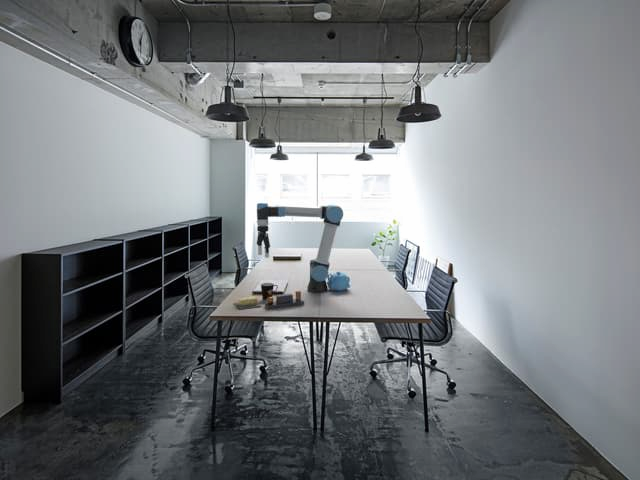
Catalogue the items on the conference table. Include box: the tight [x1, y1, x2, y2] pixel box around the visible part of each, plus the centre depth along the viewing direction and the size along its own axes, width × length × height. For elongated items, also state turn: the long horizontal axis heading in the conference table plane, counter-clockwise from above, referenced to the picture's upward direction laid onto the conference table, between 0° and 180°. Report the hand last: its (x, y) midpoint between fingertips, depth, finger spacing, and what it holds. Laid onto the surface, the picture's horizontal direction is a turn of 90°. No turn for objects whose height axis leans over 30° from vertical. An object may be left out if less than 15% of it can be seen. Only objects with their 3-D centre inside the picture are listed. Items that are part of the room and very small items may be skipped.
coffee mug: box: [260, 282, 279, 301], centre depth 256 cm, size 12×9×10 cm
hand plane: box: [264, 290, 305, 310], centre depth 240 cm, size 24×7×8 cm, turn 117°
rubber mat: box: [233, 301, 262, 311], centre depth 240 cm, size 14×14×1 cm
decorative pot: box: [326, 271, 351, 292], centre depth 282 cm, size 16×16×14 cm
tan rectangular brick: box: [237, 295, 258, 307], centre depth 240 cm, size 11×6×4 cm, turn 117°
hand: (263, 256), depth 261 cm, fingers open, 13 cm apart
